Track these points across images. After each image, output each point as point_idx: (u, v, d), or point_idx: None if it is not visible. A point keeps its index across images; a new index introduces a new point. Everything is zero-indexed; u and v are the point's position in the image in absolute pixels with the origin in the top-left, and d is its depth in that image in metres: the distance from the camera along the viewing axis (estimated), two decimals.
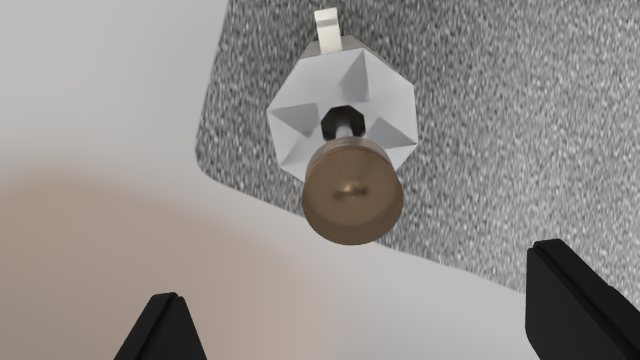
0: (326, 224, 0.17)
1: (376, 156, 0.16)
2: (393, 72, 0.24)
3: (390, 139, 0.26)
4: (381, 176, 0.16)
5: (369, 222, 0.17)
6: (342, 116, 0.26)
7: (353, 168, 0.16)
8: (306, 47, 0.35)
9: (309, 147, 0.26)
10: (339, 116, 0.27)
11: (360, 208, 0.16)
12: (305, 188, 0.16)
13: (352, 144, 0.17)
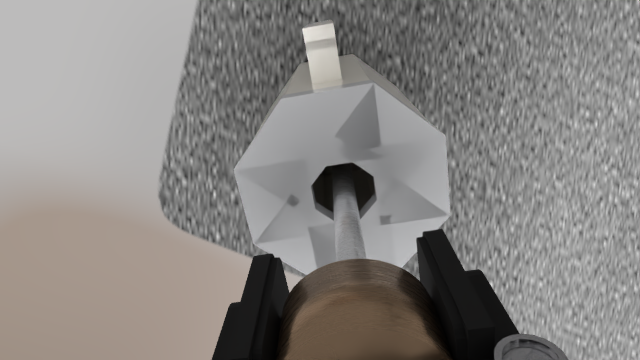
0: None
1: (413, 323, 0.08)
2: (417, 117, 0.17)
3: (411, 209, 0.18)
4: None
5: None
6: (342, 175, 0.19)
7: (368, 352, 0.08)
8: (295, 70, 0.27)
9: (296, 219, 0.19)
10: (338, 174, 0.19)
11: None
12: None
13: (365, 288, 0.09)
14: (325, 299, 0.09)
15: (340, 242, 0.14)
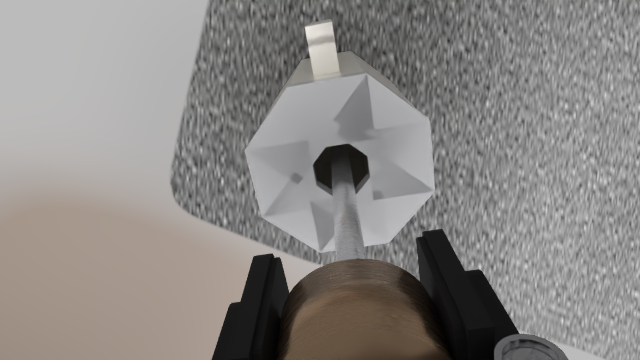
0: None
1: (413, 323, 0.08)
2: (404, 103, 0.19)
3: (400, 185, 0.21)
4: None
5: None
6: (342, 175, 0.19)
7: (368, 352, 0.08)
8: (297, 66, 0.30)
9: (299, 194, 0.21)
10: (338, 175, 0.19)
11: None
12: None
13: (365, 288, 0.09)
14: (325, 299, 0.09)
15: (340, 242, 0.14)
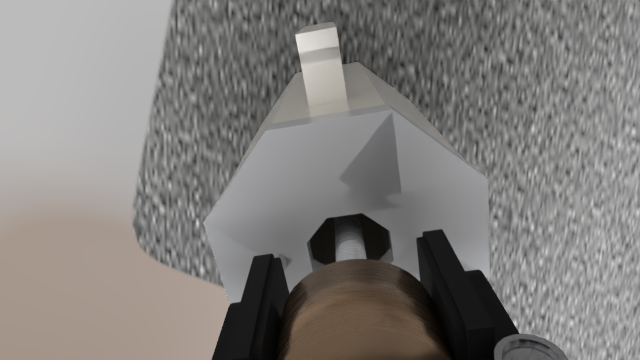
0: None
1: (414, 323, 0.08)
2: (450, 155, 0.12)
3: None
4: None
5: None
6: None
7: (368, 353, 0.08)
8: (290, 82, 0.23)
9: (287, 284, 0.14)
10: None
11: None
12: None
13: (365, 288, 0.09)
14: (325, 299, 0.09)
15: (340, 242, 0.14)
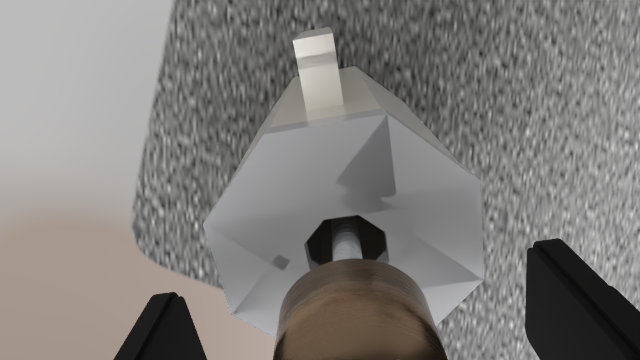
0: None
1: (407, 320, 0.08)
2: (444, 158, 0.13)
3: (433, 272, 0.14)
4: None
5: None
6: None
7: (363, 348, 0.08)
8: (288, 86, 0.23)
9: (285, 284, 0.15)
10: None
11: None
12: None
13: (360, 286, 0.09)
14: (321, 297, 0.09)
15: (337, 243, 0.14)
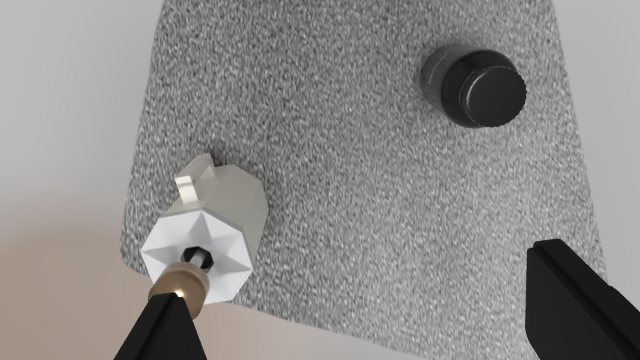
0: None
1: (185, 278, 0.30)
2: (225, 224, 0.35)
3: (232, 267, 0.36)
4: (187, 289, 0.30)
5: None
6: None
7: (171, 285, 0.30)
8: None
9: None
10: None
11: None
12: (149, 296, 0.30)
13: (176, 269, 0.31)
14: (165, 273, 0.31)
15: (192, 257, 0.36)
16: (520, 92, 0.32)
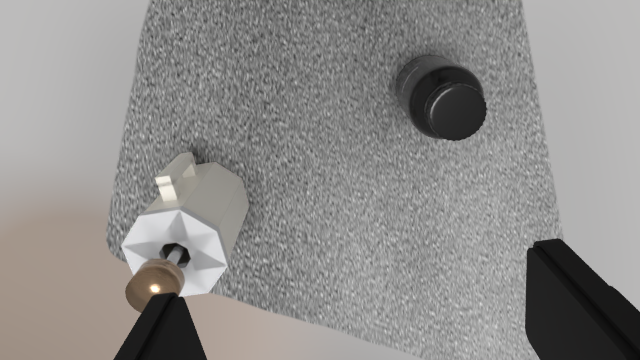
0: (139, 306, 0.33)
1: (160, 274, 0.33)
2: (202, 223, 0.37)
3: (208, 263, 0.38)
4: (162, 284, 0.32)
5: None
6: None
7: (147, 281, 0.32)
8: None
9: None
10: None
11: None
12: (126, 289, 0.33)
13: (152, 266, 0.33)
14: (142, 269, 0.33)
15: None
16: (480, 109, 0.33)
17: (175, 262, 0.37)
